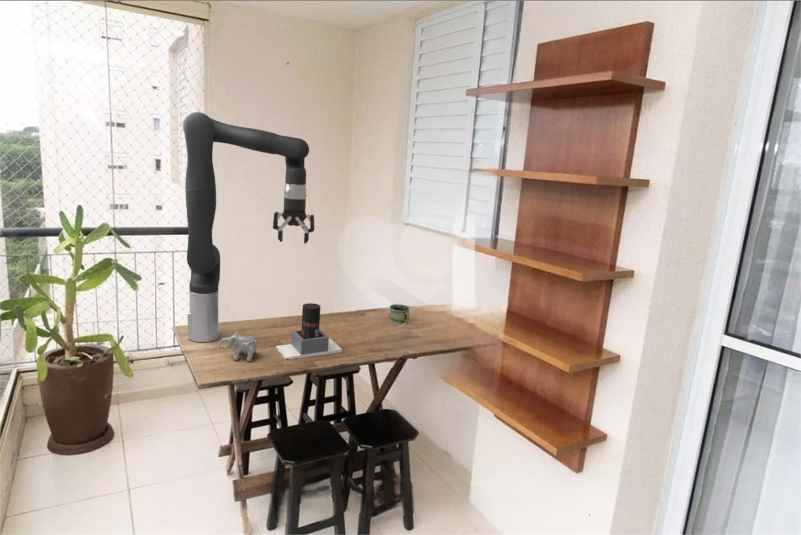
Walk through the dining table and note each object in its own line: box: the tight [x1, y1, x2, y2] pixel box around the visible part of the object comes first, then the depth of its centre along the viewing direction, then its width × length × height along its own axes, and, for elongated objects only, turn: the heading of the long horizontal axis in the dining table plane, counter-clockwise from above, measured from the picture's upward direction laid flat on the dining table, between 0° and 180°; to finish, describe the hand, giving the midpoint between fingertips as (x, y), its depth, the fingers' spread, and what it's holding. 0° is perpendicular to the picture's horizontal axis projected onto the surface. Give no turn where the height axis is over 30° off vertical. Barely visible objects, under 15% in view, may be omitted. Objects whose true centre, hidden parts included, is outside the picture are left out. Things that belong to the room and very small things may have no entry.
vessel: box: [388, 303, 411, 325], centre depth 209 cm, size 12×9×6 cm
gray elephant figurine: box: [217, 331, 258, 363], centre depth 162 cm, size 9×12×8 cm
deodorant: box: [301, 302, 321, 339], centre depth 171 cm, size 6×6×15 cm
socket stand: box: [275, 328, 343, 360], centre depth 172 cm, size 20×10×6 cm, turn 121°
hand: (293, 242), depth 180 cm, fingers open, 8 cm apart
